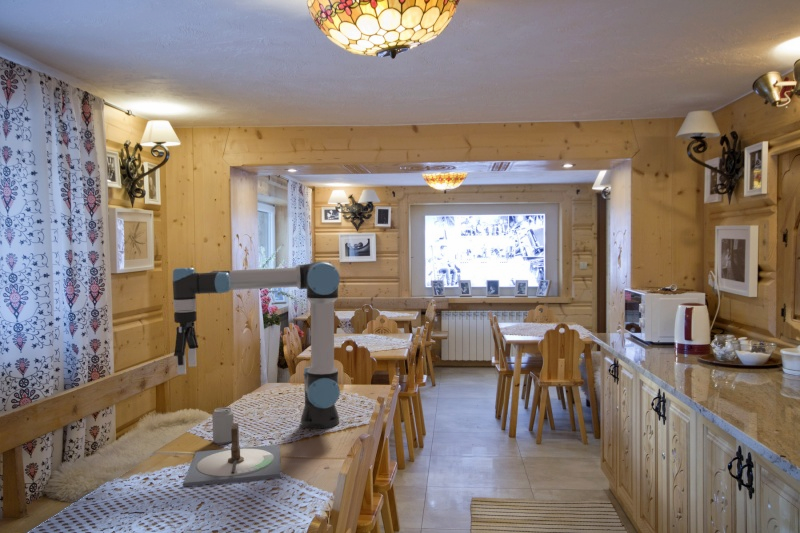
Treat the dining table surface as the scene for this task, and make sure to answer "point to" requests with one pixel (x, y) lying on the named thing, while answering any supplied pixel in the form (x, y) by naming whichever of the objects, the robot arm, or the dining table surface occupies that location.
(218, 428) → the can
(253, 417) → the dining table surface
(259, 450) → the dial board
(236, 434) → the dial pointer knob
